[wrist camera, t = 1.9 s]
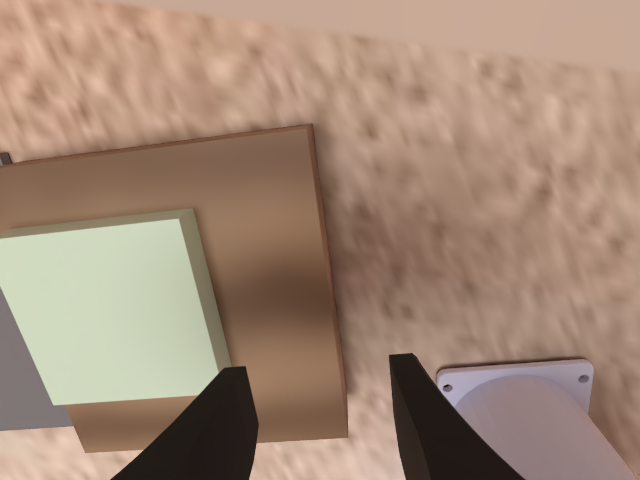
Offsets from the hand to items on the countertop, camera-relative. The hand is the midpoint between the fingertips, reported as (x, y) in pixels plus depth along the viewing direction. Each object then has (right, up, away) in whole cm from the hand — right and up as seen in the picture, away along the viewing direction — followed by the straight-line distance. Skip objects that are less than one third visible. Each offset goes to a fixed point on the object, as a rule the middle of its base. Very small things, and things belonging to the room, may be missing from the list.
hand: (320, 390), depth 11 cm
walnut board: (-6, +2, +10) cm, 12 cm away
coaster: (-9, +1, +7) cm, 11 cm away
